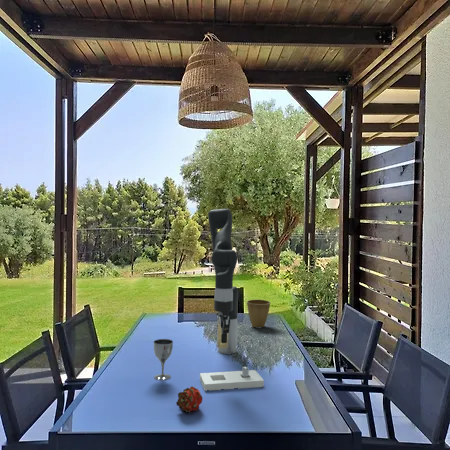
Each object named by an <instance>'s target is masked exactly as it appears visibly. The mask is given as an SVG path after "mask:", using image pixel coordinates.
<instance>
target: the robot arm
mask: <svg viewBox="0 0 450 450" xmlns="http://www.w3.org/2000/svg"><path fill="white" fill-rule="evenodd" d="M232 214H233V213H232V211H231V210H230V209H229V208H219V209H218V208H217V209H211V210H209V211H208V216H207V217H208V225H209V231H210V237H211V245H212V254H211V264H212V265H213V267H214V272H215V273H214V274H215V280H214V281H215V283H214V286H215V287H214V298H213V299H214V303H213V304H214V307H213V309H214V310H213V311H215V312H216V324H217V325H216V327H217V328H218V324H220V328H221V342H222V343H227V334H228V347H227V348H219V347H218V353H220V354H225V355H231V354H235V353H236V352H237V345H238V344H237V343H238V340H237V339H238V311H239V310H238V309H239V308H238V306H239V304H238V303H239V294H240V293H239V288H238V287H237V286H233V284H234V283H233V281H234V273H235V269H236V266H237V263H238V258H239V257H238V256H239V255H238V253H237V252H236V250H233V249H232V248H233V245H232V231H233V215H232ZM218 230H219V231H218ZM222 325H223V326H222ZM225 328H226V330H224V329H225Z"/></svg>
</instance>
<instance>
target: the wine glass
mask: <svg viewBox="0 0 450 450" xmlns="http://www.w3.org/2000/svg"><path fill="white" fill-rule="evenodd" d="M173 343H174V341H173V339H170V338H169V339H168V338H158V339H155V340H153V353H154V356H155V357H156V358H157V359H158V361H159V362H160V364H161V365H160V366H161V373H159V374H156V375H154V377H153V378H154V380H157V381H167V380H170V379H171V378H172V376H171V375H170V374H167V373H164V371H165V370H164V369H165V364H166V361H168V359H169V357H170V356H171V355H172V351H173V348H174V344H173Z"/></svg>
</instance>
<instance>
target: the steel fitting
mask: <svg viewBox="0 0 450 450" xmlns="http://www.w3.org/2000/svg"><path fill="white" fill-rule="evenodd" d="M241 369H242V370H241V371H242V378H248V377H249V370H250V367H249V366H242V368H241Z"/></svg>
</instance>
